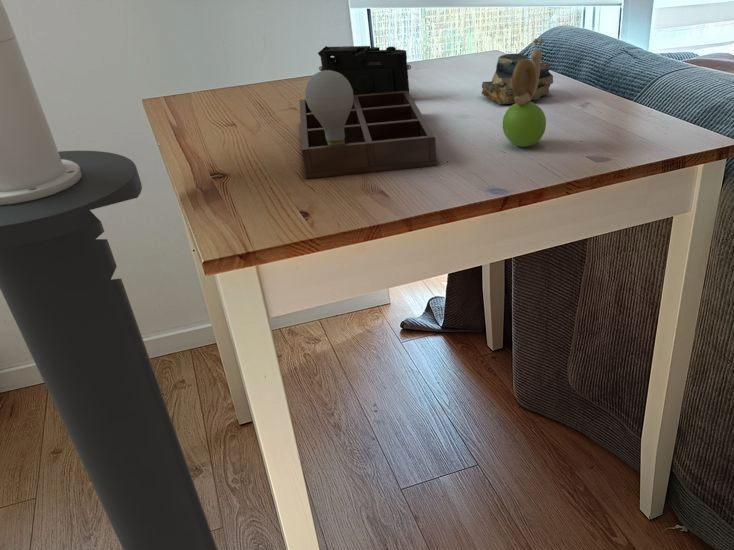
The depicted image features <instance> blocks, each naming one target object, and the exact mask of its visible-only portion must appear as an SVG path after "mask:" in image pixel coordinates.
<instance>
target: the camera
mask: <svg viewBox="0 0 734 550" xmlns="http://www.w3.org/2000/svg"><path fill="white" fill-rule="evenodd" d="M317 55H318V56H319V57H320V63H321V65H319V66H318V70H319V72H321V71H324V70H331V71H335V72H338V73H340V74H342V75H343V76H344V77H345V78H346V79H347V80H348V81H349V83H350V85H351V87H352V89H353V95H362V94H374V93H385V92H397V91H408V92H409V93H410V83H409V71H410V70H411V69H412V66H411V65H410V64H408V57H407V56H408V55H407V50H405V49H397V48H396V47H395V46H388V47H386V48H385V49H380V47H379V46H373V47H371V45H359V46H358V45H351V46H350V45H348V46H327V45H325V46H324V47H323V48H322V49H321V50H320V51H318V53H317Z"/></svg>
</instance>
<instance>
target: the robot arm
mask: <svg viewBox="0 0 734 550" xmlns="http://www.w3.org/2000/svg"><path fill="white" fill-rule="evenodd" d="M57 147H58V146H57V144H56V142H55V139H54V136H53V134H52V131H51V128H50V126H49V123H48V120H47V117H46V114H45V112H44V108H43V107H42V104H41V102H40V99H39V96H38V93H37V91H36V88H35V85H34V83H33V80H32V77H31V74H30V72H29V69H28V65H27V63H26V60H25V58H24V55H23V52H22V50H21V47H20V45H19V42H18V39H17V36H16V34H15V31H14V28H13V26H12V22H11V21H10V18H9V15H8V12H7V11H6V8H5V6H4V3H3V2H2V0H0V206H2V205H11V204H18V203H24V202H28V201H33V200H37V199H41V198H44V197H48V196H51V195H54V194H56V193H59V192H61V191H64V190H66V189H68V188H70V187H71V186H73V185H74V184H76V183H77V182H78V181H79V180H80V178H81V176H82V174H81V171H80V167H79V166H78V165H77V164H76V163H74V162H72V161H69V160H63V159H61V158H60V155H59V153H58V152H59V150H58V148H57Z"/></svg>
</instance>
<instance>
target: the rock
mask: <svg viewBox="0 0 734 550" xmlns="http://www.w3.org/2000/svg"><path fill="white" fill-rule="evenodd" d="M522 59H529V60H530V61H531V62H532V59H531V57H529V56H526V55H525V54H522V53H507V54H501V55H500V56H498V59H497V62H496V67H495V72H494V74H493V75H492V79H491V81H482V83H481V89H482V91H481V95H482V96H483V97H486V98H488V99H489V100H491V101H492V102H495V103H497V104H499V105H509V104H515V103H516V102H515V100H514V98H515V97H516V95H515V93H514V92H513V89H512V75H513V71H514V68H515V66H516V65H517V63H518V62H519V61H520V60H522ZM550 70H551V64H550V63H549V62H548V61H542V60H541V61H540V75H539V80H538V85H537V90H536V92H535V94H534V96H533V97H532V99H531V100H535V101H536V100H539V99H540V98H541V97H543V96H547V95H549V94H550V87H551V85H552V84H554V75H553V74H552V73H551V72H550ZM531 100H530V101H531Z"/></svg>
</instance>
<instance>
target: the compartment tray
mask: <svg viewBox="0 0 734 550" xmlns="http://www.w3.org/2000/svg"><path fill="white" fill-rule="evenodd" d="M298 102H299V121H300V123H299V124H300V141H301V154H302V159H303V166H304V171H305V177H306V179H316V178H327V177H337V176H347V175H356V174H365V173H366V174H367V173H375V172H385V171H395V170H406V169H413V168H414V169H415V168H424V167H435V166H438V164H437V146H436V145H437V144H436V137H435V135H434V133H433V131H432V129H431V128H430V126H429V125H428V123H427V120H426V119H425V118H424V116H423V114H422V112H421V110H420V109H419V107H418V106H417V104H416V102H415V99H414V98H413V97H412V95H411V93H410V91H409V92H408V91H397V92H385V93H374V94H362V95H354V100H353V106H352V109H351V111H350V114H349V116H348V118H347V121H346V123H345V126H344V133H345V139H344V140H345V141H344V142H345V144H338V145H328V143H327V140H326V136H325V131H324V128H323V127H322V125H321V124H320V123H319V121H318V120H317V118H316V117H315V116H314V115H313V113H312V112H311V110H310V109H309V107H308V104H307V102H306V98H305V99H299V100H298Z"/></svg>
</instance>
